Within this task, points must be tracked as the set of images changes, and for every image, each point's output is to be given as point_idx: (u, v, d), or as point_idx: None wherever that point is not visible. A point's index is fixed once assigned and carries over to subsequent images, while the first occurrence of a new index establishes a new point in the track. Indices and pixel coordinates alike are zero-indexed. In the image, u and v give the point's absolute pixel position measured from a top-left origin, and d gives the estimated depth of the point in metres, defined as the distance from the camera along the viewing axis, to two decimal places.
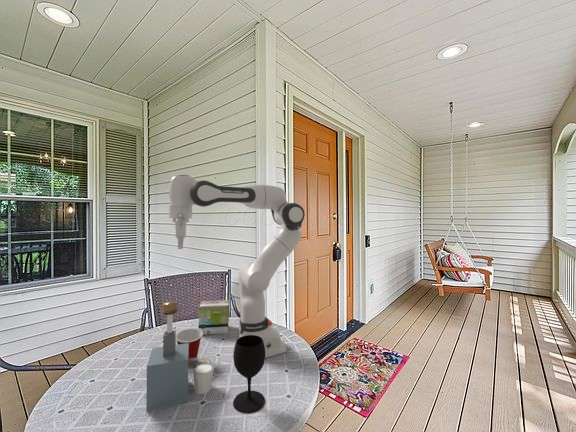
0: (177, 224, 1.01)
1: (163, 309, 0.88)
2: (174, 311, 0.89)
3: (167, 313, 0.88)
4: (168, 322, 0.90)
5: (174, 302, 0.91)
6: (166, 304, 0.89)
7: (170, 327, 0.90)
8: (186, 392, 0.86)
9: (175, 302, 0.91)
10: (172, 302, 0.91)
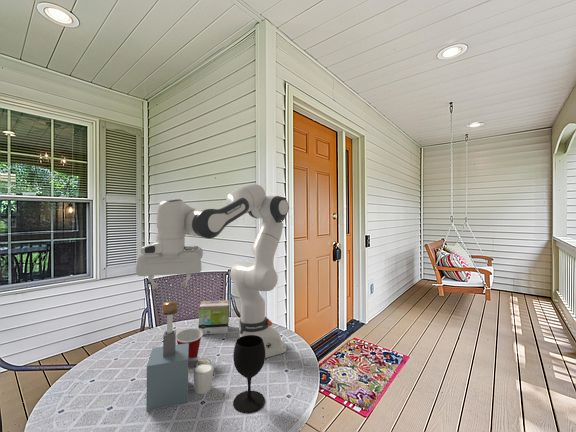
0: (200, 257, 0.93)
1: (163, 309, 0.88)
2: (174, 311, 0.89)
3: (167, 313, 0.88)
4: (168, 322, 0.90)
5: (174, 302, 0.91)
6: (166, 304, 0.89)
7: (170, 327, 0.90)
8: (186, 392, 0.86)
9: (175, 302, 0.91)
10: (172, 302, 0.91)
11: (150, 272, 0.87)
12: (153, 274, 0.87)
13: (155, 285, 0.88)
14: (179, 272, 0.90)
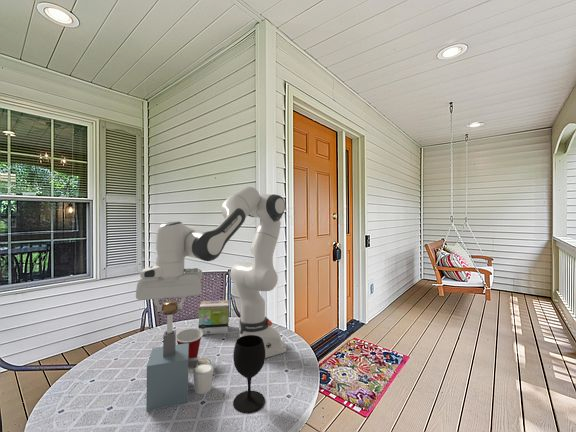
0: None
1: (163, 309, 0.88)
2: (174, 311, 0.89)
3: (167, 313, 0.88)
4: (168, 322, 0.90)
5: (174, 302, 0.91)
6: (166, 304, 0.89)
7: (170, 327, 0.90)
8: (186, 392, 0.86)
9: (175, 302, 0.91)
10: (172, 302, 0.91)
11: (150, 296, 0.87)
12: (153, 298, 0.87)
13: (160, 308, 0.89)
14: (179, 295, 0.90)
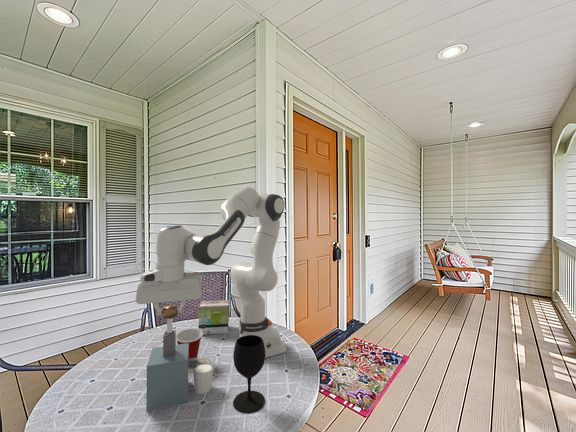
0: (200, 283, 0.93)
1: (163, 313, 0.88)
2: (174, 315, 0.89)
3: (167, 317, 0.88)
4: (168, 326, 0.90)
5: (174, 306, 0.91)
6: (166, 308, 0.89)
7: (170, 331, 0.90)
8: (186, 392, 0.86)
9: (175, 306, 0.91)
10: (172, 306, 0.91)
11: (150, 300, 0.87)
12: (153, 302, 0.87)
13: (160, 312, 0.89)
14: (179, 299, 0.90)
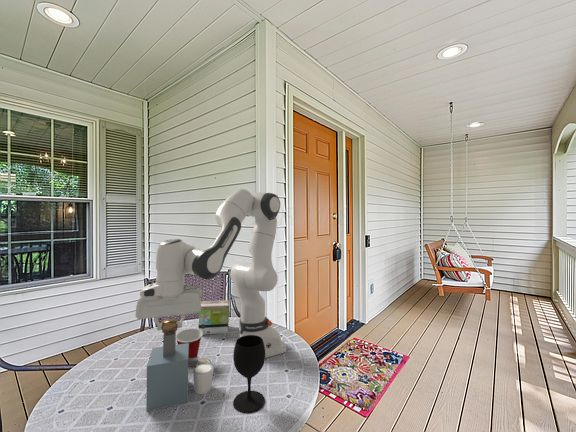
0: (199, 297, 0.93)
1: (163, 327, 0.88)
2: (174, 329, 0.89)
3: (167, 331, 0.88)
4: None
5: (174, 320, 0.91)
6: (166, 322, 0.89)
7: None
8: (186, 392, 0.86)
9: (175, 320, 0.91)
10: (172, 320, 0.91)
11: (150, 315, 0.87)
12: (153, 316, 0.87)
13: (160, 326, 0.89)
14: (179, 313, 0.90)
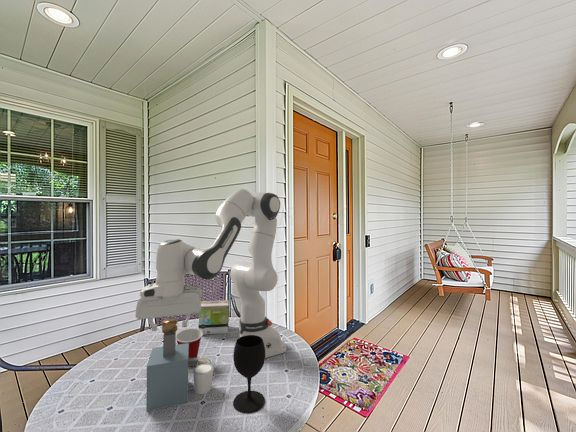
0: (199, 297, 0.93)
1: (163, 327, 0.88)
2: (174, 329, 0.89)
3: (167, 332, 0.88)
4: None
5: (174, 320, 0.91)
6: (166, 322, 0.89)
7: None
8: (186, 392, 0.86)
9: (175, 320, 0.91)
10: (172, 320, 0.91)
11: (150, 315, 0.87)
12: (153, 317, 0.87)
13: (155, 327, 0.88)
14: (179, 313, 0.90)
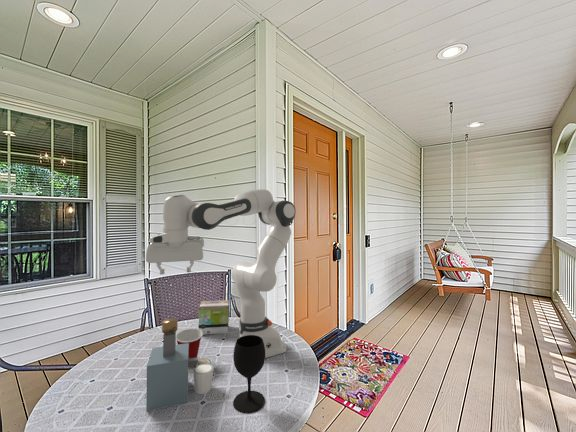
0: (201, 246, 1.05)
1: (163, 327, 0.88)
2: (174, 329, 0.89)
3: (167, 332, 0.88)
4: None
5: (174, 320, 0.91)
6: (166, 322, 0.89)
7: None
8: (186, 392, 0.86)
9: (175, 320, 0.91)
10: (172, 320, 0.91)
11: (158, 259, 0.99)
12: (161, 261, 0.99)
13: (162, 271, 1.00)
14: (183, 259, 1.02)
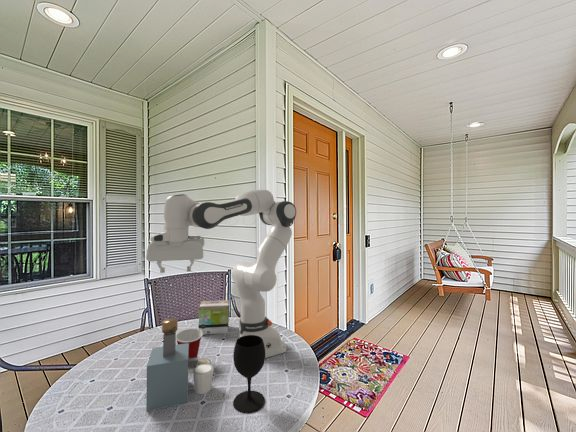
0: (202, 246, 1.05)
1: (163, 327, 0.88)
2: (174, 329, 0.89)
3: (167, 332, 0.88)
4: None
5: (174, 320, 0.91)
6: (166, 322, 0.89)
7: None
8: (186, 392, 0.86)
9: (175, 320, 0.91)
10: (172, 320, 0.91)
11: (158, 258, 0.99)
12: (161, 260, 1.00)
13: (163, 269, 1.01)
14: (184, 258, 1.02)
